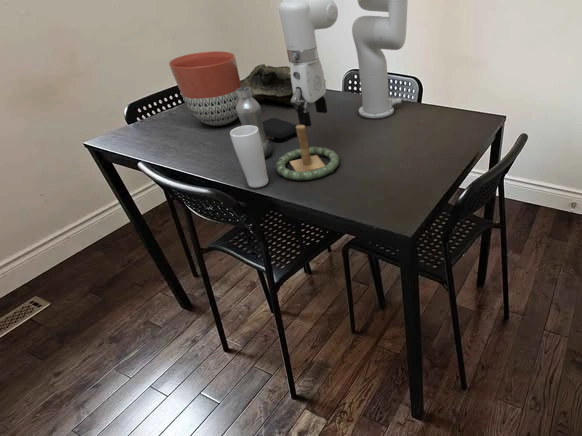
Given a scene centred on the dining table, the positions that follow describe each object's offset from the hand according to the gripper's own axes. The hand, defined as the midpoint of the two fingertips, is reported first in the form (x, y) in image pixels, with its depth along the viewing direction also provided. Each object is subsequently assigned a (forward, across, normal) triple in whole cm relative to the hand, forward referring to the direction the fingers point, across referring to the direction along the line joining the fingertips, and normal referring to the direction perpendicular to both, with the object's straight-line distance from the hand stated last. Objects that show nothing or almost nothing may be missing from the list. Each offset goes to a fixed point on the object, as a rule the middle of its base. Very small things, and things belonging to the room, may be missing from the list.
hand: (314, 118), depth 116 cm
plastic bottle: (+12, -5, +17) cm, 21 cm away
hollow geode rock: (+12, +37, +36) cm, 53 cm away
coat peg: (+11, -8, 0) cm, 14 cm away
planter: (+12, +15, +45) cm, 49 cm away
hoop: (+10, -7, 0) cm, 12 cm away
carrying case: (+12, +11, +21) cm, 26 cm away
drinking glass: (+11, -19, +8) cm, 24 cm away
